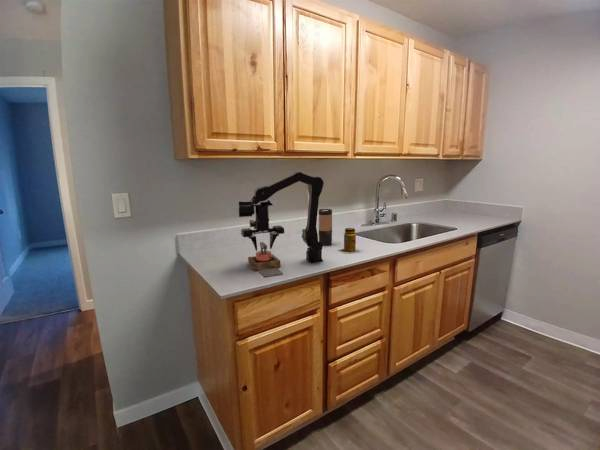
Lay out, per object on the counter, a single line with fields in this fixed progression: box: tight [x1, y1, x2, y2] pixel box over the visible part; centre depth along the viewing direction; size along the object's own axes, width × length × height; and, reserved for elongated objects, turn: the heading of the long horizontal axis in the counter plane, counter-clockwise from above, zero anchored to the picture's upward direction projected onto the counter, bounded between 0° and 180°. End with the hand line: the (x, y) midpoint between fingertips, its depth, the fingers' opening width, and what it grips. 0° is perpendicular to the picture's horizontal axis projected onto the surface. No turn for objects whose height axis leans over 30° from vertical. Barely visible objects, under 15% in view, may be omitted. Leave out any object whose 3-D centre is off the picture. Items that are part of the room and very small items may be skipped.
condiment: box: [338, 227, 359, 254], centre depth 163 cm, size 7×8×12 cm
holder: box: [247, 253, 282, 272], centre depth 143 cm, size 12×12×3 cm
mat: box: [258, 268, 284, 278], centre depth 133 cm, size 8×8×1 cm
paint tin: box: [255, 241, 272, 263], centre depth 142 cm, size 7×7×10 cm
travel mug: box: [318, 208, 333, 247], centre depth 176 cm, size 8×8×20 cm
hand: (263, 249), depth 142 cm, fingers open, 6 cm apart
